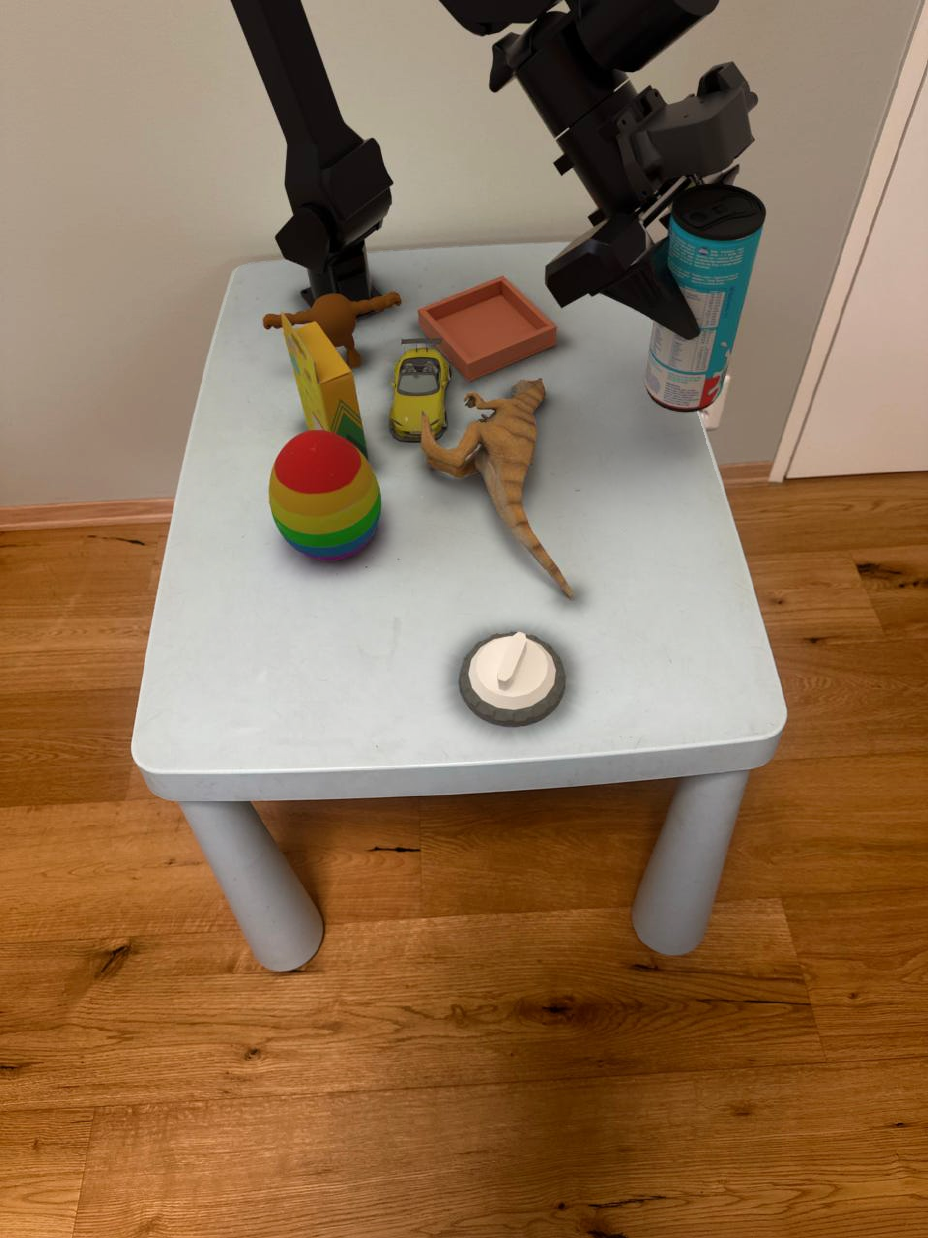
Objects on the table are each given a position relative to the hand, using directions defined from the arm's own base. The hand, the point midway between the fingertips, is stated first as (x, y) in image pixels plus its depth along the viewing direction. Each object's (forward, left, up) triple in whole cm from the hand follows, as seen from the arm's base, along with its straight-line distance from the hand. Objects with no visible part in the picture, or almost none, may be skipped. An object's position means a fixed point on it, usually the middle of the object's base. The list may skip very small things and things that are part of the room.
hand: (715, 313), depth 65 cm
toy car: (-17, -16, -13) cm, 27 cm away
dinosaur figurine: (-5, -15, -13) cm, 21 cm away
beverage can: (-1, -1, -8) cm, 8 cm away
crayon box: (-16, -24, -13) cm, 32 cm away
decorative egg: (-7, -28, -13) cm, 32 cm away
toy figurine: (-26, -19, -13) cm, 35 cm away
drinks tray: (-22, -6, -13) cm, 26 cm away
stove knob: (+11, -24, -13) cm, 29 cm away
